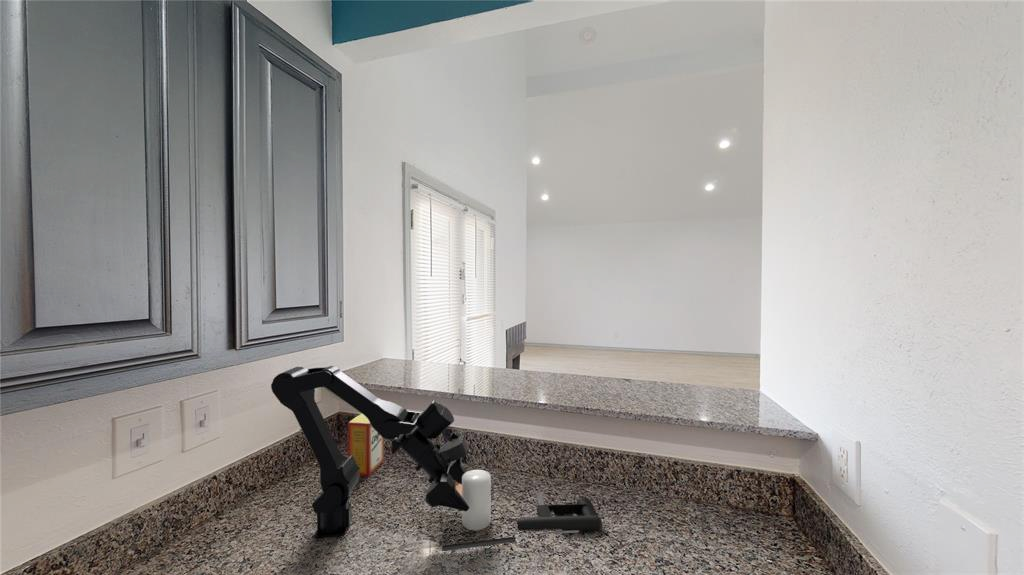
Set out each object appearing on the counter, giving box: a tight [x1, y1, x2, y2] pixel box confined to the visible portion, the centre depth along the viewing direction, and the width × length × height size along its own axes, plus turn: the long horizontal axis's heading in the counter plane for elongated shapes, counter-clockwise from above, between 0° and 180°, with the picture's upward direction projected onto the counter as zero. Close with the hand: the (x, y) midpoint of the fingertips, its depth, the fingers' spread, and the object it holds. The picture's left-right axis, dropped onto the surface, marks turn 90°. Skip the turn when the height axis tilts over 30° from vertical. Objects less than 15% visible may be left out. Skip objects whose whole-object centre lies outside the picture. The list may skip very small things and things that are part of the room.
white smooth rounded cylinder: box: [461, 469, 492, 531], centre depth 88 cm, size 7×7×11 cm
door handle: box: [516, 491, 603, 535], centre depth 92 cm, size 3×20×16 cm
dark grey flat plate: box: [441, 536, 516, 552], centre depth 87 cm, size 16×12×1 cm
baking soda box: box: [347, 413, 385, 477], centre depth 115 cm, size 10×6×16 cm
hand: (469, 497), depth 88 cm, fingers open, 9 cm apart
